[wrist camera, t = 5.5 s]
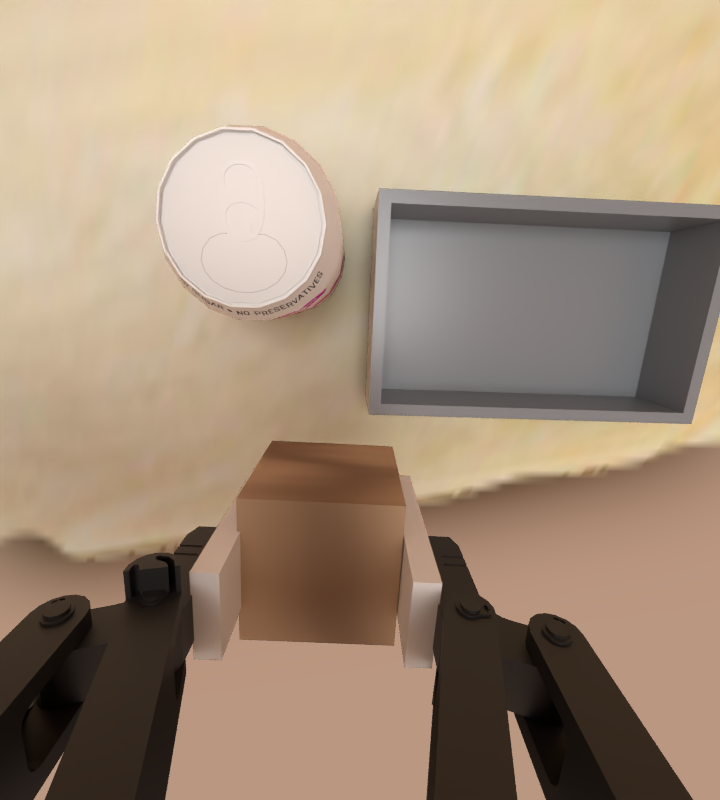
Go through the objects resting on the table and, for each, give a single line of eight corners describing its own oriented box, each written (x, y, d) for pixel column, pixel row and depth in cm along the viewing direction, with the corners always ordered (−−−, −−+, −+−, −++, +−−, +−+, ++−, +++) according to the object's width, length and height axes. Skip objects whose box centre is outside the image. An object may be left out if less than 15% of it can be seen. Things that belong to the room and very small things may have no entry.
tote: (365, 395, 34) (368, 414, 28) (373, 208, 30) (379, 188, 25) (635, 403, 35) (691, 424, 29) (674, 223, 31) (746, 206, 25)
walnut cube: (272, 547, 18) (239, 639, 13) (272, 440, 17) (236, 498, 12) (384, 552, 18) (394, 645, 13) (392, 446, 17) (406, 506, 12)
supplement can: (344, 312, 32) (340, 323, 18) (241, 310, 32) (150, 319, 17) (345, 202, 30) (342, 113, 16) (235, 199, 30) (128, 104, 15)
